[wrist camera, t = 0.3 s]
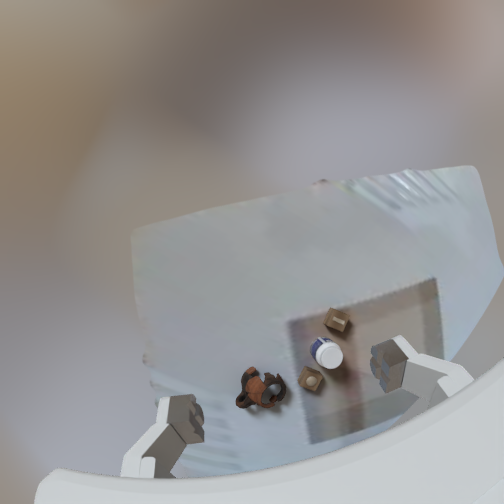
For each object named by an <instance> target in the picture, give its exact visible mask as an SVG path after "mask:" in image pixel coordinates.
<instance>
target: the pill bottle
mask: <svg viewBox="0 0 504 504" xmlns="http://www.w3.org/2000/svg"><path fill="white" fill-rule="evenodd" d="M310 352H311V355H312V356H313V358H314V359H315V360H316V361H317V362H318V364H319V365H321V366H323V367H325V368H328V369H334V368H336V367H338V366H339V365H340V364H341V362H342V360H343V354H342V352H341V349H340V347H339V346H338V345H337V344H336V343H335V342H333V341H332V340H330V339H329V338H327V337H319V338H317V339H315V340H314V341H313V342H312V344H311V346H310Z"/></svg>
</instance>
